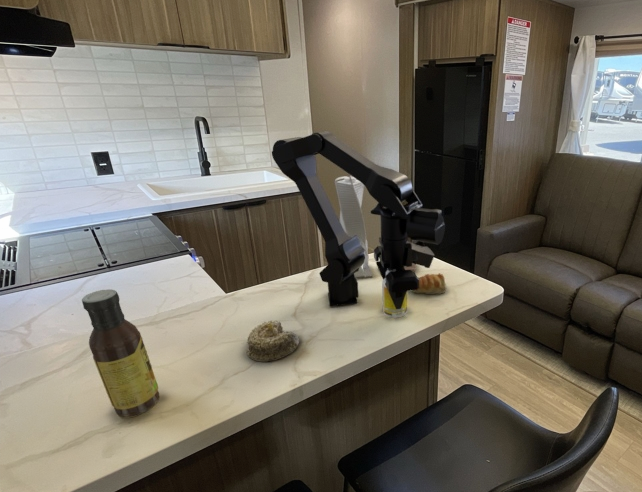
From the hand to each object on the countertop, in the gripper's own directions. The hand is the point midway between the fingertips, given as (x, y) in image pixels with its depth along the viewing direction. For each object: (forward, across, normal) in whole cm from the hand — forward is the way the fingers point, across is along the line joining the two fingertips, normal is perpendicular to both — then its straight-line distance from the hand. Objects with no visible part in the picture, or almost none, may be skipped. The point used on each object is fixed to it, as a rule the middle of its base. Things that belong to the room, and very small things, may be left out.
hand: (394, 300), depth 90 cm
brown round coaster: (+3, +23, -6) cm, 24 cm away
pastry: (+3, +9, -11) cm, 15 cm away
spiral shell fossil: (+3, -7, +26) cm, 27 cm away
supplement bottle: (+3, 0, 0) cm, 3 cm away
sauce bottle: (+3, -18, +46) cm, 50 cm away
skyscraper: (+3, +22, +6) cm, 23 cm away
